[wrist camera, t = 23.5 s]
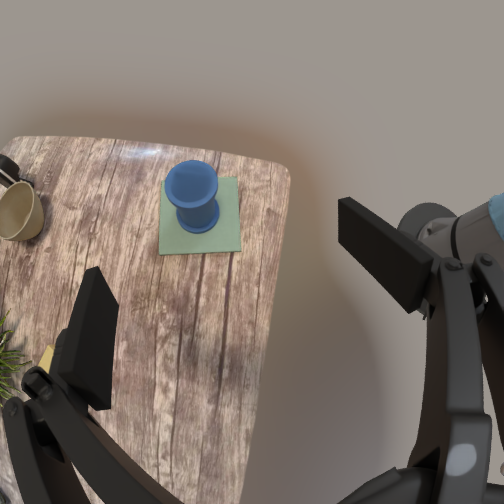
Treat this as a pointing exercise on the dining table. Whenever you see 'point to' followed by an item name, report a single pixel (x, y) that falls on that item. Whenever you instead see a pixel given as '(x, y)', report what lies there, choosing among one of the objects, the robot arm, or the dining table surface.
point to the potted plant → (4, 364)
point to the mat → (212, 241)
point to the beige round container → (20, 213)
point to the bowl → (2, 499)
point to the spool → (193, 195)
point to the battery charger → (9, 172)
